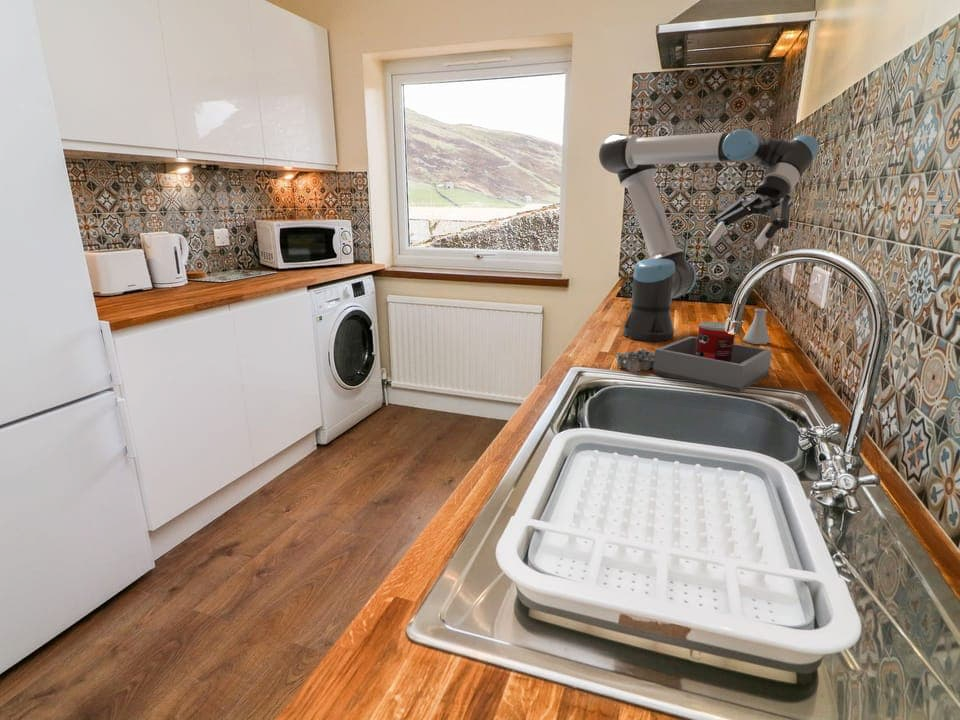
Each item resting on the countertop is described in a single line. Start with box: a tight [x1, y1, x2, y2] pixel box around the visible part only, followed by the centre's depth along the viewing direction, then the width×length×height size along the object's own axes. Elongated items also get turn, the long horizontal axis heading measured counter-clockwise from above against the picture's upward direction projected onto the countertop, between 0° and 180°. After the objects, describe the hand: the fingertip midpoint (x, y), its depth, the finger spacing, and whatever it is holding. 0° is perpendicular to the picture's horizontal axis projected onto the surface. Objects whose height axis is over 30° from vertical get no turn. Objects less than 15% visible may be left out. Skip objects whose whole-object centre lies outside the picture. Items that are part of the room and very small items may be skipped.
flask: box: [742, 308, 771, 345], centre depth 162 cm, size 7×7×10 cm
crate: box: [652, 335, 773, 393], centre depth 130 cm, size 20×20×6 cm
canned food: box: [695, 321, 736, 362], centre depth 129 cm, size 8×8×11 cm
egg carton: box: [614, 348, 655, 373], centre depth 136 cm, size 11×8×4 cm
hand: (732, 244), depth 140 cm, fingers open, 13 cm apart
